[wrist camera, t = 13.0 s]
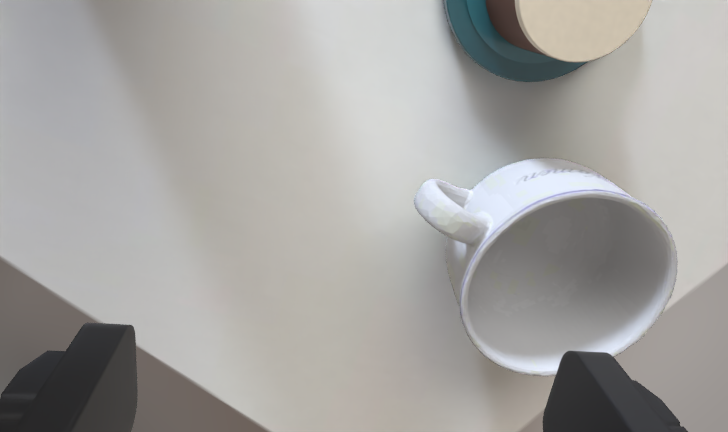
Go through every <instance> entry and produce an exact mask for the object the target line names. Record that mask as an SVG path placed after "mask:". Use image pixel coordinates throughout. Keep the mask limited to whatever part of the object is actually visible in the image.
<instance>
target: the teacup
mask: <svg viewBox="0 0 728 432" xmlns="http://www.w3.org/2000/svg"><path fill="white" fill-rule="evenodd" d="M414 205H415V208H416V209H417V211H418V212H419V214H420V215H421V216H422V217H423V218H424V219H425V220H426V221H427V222H428V223H429V224H430V225H432V226H433V227H434V228H436V229H437V230H438V231H439V232H441V233H443V234H444V235H446V236H447V239H446V263H447V268H448V273H449V277H450V281H451V284H452V287H453V290H454V293H455V296H456V299H457V302H458V304H459V307H460V315H461V319H462V323H463V326H464V328H465V330H466V332H467V334H468V336H469V338H470V340H471V341H472V343H473V344H474V345H475V346H476V347H477V349H478V350H479V351H480V352H481V353H482V354H483V355H484V356H485V357H486V358H488V359H489V360H491V361H492V362H493V363H495V364H497V365H499V366H501V367H503V368H505V369H507V370H509V371H513V372H517V373H521V374H525V375H533V376H556V373H557V370H558V367H559V364H560V361H561V358H562V356H563V355H564V354H565V353H566V352H567V351H587V352H605V353H609V354H610V355H612V356H613V357H615V356H616V355H618V354H620V353H622V352H623V351H625V350H626V349H627V348H628V347H630V346H631V345H633V344H634V343H636V342H637V341H639V340H640V339H641V338H642V337H644V335H645V333H646V332H647V331H648V330H649V329H650V328H651V327H652V326H653V324H654V323H655V322H656V320H657V319H658V318H659V317H660V316H661V314H662V313H663V311H664V308H665V306H666V305H667V303H668V301H669V300H670V298H671V295H672V292H673V289H674V285H675V282H676V275H677V262H678V261H677V252H676V247H675V243H674V240H673V238H672V235H671V233H670V231H669V230H668V228H667V226H666V225H665V223H664V222H663V220H662V218H661V217H659V216H658V215H657V214H656V213H655V211H653V210H652V209H651V208H649V207H648V206H647V205H646V204H644V203H643V202H641V201H639V200H637V199H635V198H633V197H631V196H630V195H629V194H627V193H626V192H625V191H623V190H622V189H621V188H619V187H618V186H617V185H615V184H614V183H612V182H611V181H609V180H608V179H606V178H605V177H603V176H602V175H600V174H599V173H597V172H595V171H594V170H592V169H590V168H587V167H585V166H583V165H581V164H578V163H575V162H572V161H568V160H563V159H556V158H536V159H528V160H523V161H519V162H515V163H512V164H510V165H507V166H505V167H503V168H500V169H498V170H496V171H494V172H493V173H491V174H490V175H488V176H487V177H485V178H484V179H483V180H481V181H480V182H479V183H478V184H477V185H475V186H474V187H473V188H472V190H468V189H463V188H459V187H457V186H454V185H452V184H450V183H447V182H444V181H441V180H438V179H429V180H427V181H425V182H424V183H423V184H422V185H421V187H420V188H419V190H418V192H417V193H416V195H415V198H414Z"/></svg>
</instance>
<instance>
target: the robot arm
mask: <svg viewBox="0 0 728 432" xmlns="http://www.w3.org/2000/svg"><path fill="white" fill-rule="evenodd" d="M136 408H137V370H136V342H135V331H134V327H133V326H132V325H121V324H103V323H85V324H84V325H83V326H82V328H81V329H80V331H79V332H78V334H77V335H76V336H75V338H74V340H73V341H72V342H71V344H70V346H69V347H68V349H67V350H66V351H47V352H45V353H44V354H42V355H41V356H40V357H38V358H36V359H35V360H33V361H32V362H30V363H29V364H28V365H26V366H25V367H23V368H22V369H20V370H19V371H18V373H17V374H16V375H15V377H14V378H13V379H12V381H11V382H10V383H9V385H8V386H7V387H6V389H5V390H4V391H3V392H2V394H1V398H0V432H131V430H132V427H133V423H134V418H135V414H136ZM543 432H688V431H687V430H686V429H685V428H684V427H681V426H680V422H679V420H678V419H677V418H676V417H675V416H674V414H673V413H672V412H671V411H670V410H669V409H668V407H667V406H666V405H665V404H664V403H663V401H662V400H661V399H659V398H658V397H657V396H655V395H654V394H653V393H651V392H650V391H649V390H647V389H646V388H645V387H644V386H642V385H641V384H639V383H638V382H637V381H634V380H631V379H630V377H629V376H628V375H627V373H626V372H625V371H624V370H623V368H622V367H621V366H620V365H619V363H618V362H617V361H616V360H615V359H614V357H613V356H612V355H610V354H609V353H605V352H587V351H567V352H566V353H565V354H564V355H563V356H562V358H561V361H560V364H559V367H558V370H557V373H556V377H555V380H554V383H553V386H552V389H551V392H550V395H549V398H548V401H547V405H546V408H545V411H544V416H543Z"/></svg>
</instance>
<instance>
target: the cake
mask: <svg viewBox="0 0 728 432" xmlns="http://www.w3.org/2000/svg"><path fill="white" fill-rule="evenodd" d="M651 3H652V0H486V7H487V11H488V15H489V17H490V20H491V22H492V24H493V26H494V27H495V29H496V30H497V32H498V33H499V34H500V35H501V36H502V37H503V38H504V39H505V40H506V41H508V42H509V43H511V44H513V45H514V46H517V47H519V48H522V49H525V50H528V51H532V52H535V53H538V54H541V55H545V56H548V57H551V58H555V59H558V60H562V61H566V62H587V61H592V60H595V59H598V58H601V57H603V56H605V55H608V54H610V53H611V52H613V51H614V50H616V49H618V48H619V47H620V46H621V45H623V44H624V43H625V42H626V41H627V40H628V39H629V38H630V37H631V36H632V35H633V34H634V33H635V32H636V30H637V29H638V28H639V26H640V25H641V23H642V22H643V20H644V18H645V17H646V15H647V13H648V11H649V8H650V6H651Z"/></svg>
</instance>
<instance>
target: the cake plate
mask: <svg viewBox="0 0 728 432" xmlns="http://www.w3.org/2000/svg"><path fill="white" fill-rule="evenodd" d="M443 2H444V9H445V13H446V17H447V21H448V24H449V26H450V29H451V31H452V33H453V35H454V37H455V39H456V41H457V42H458V44H459V45H460V47H461V48H462V49H463V51H464V52H465V53H466V54H467V55H468V56H469V57H470V58H471V59H472V60H473V61H474V62H475V63H477V64H478V65H479V66H481V67H482V68H484V69H486V70H487V71H489V72H491V73H493V74H495V75H497V76H500V77H503V78H505V79H509V80H514V81H521V82H538V81H545V80H550V79H554V78H557V77H560V76H563V75H565V74H567V73H570V72H572V71H574V70H576V69H577V68H579V67H580V66H582V65H584V64H585V63H587V62H588V61H587V62H566V61H562V60H558V59H555V58H551V57H548V56H545V55H541V54H538V53H535V52H532V51H528V50H525V49H522V48H519V47H517V46H514V45H513V44H511V43H509V42H508V41H506V40H505V39H504V38H503V37H502V36H501V35H500V34H499V33H498V32H497V30H496V29H495V27H494V26H493V24H492V22H491V20H490V17H489V15H488V11H487V7H486V0H443Z"/></svg>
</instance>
